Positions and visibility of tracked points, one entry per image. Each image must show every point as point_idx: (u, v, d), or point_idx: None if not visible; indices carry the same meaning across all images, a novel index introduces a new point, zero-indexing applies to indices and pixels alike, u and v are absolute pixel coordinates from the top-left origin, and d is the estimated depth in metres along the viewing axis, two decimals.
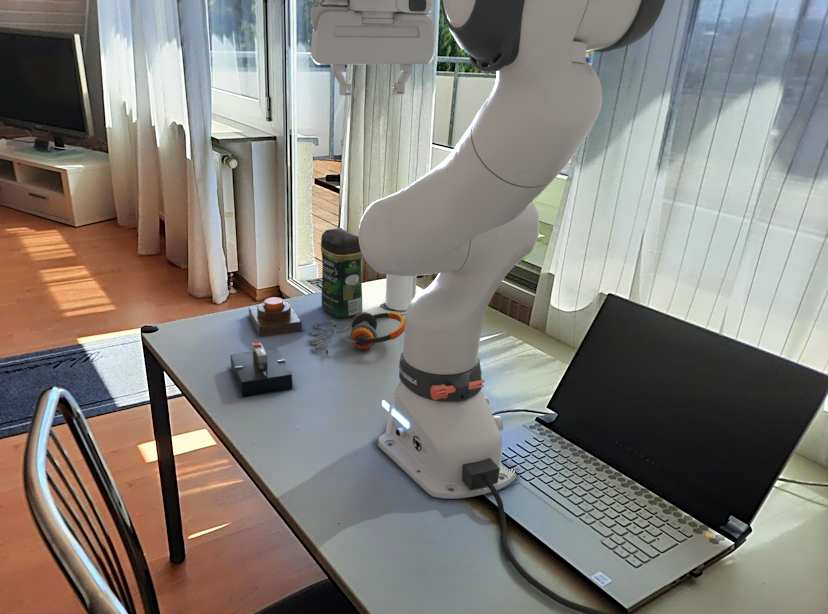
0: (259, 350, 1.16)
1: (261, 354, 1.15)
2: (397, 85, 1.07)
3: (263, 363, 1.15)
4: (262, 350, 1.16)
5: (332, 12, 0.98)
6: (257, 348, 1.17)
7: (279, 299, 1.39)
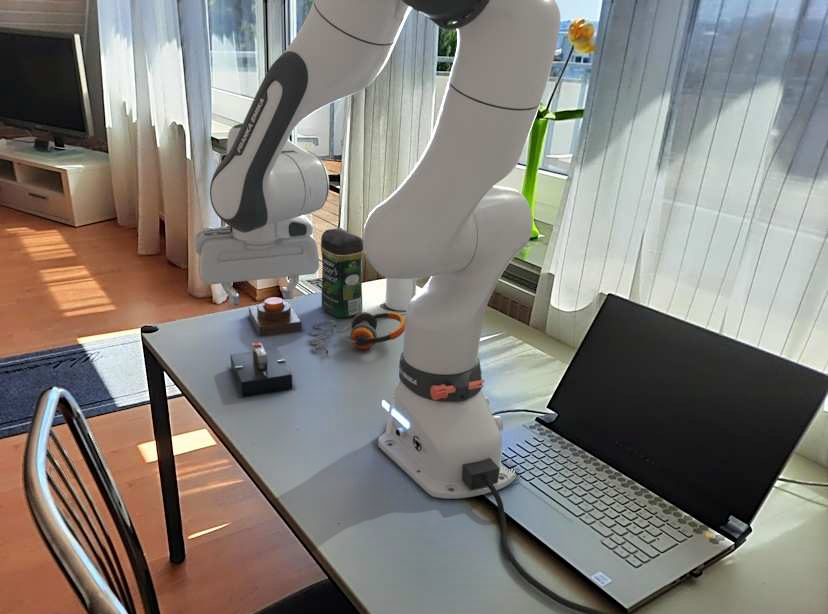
0: (259, 350, 1.16)
1: (261, 354, 1.15)
2: (285, 292, 1.13)
3: (263, 363, 1.15)
4: (262, 350, 1.16)
5: (214, 242, 1.04)
6: (257, 348, 1.17)
7: (279, 299, 1.39)
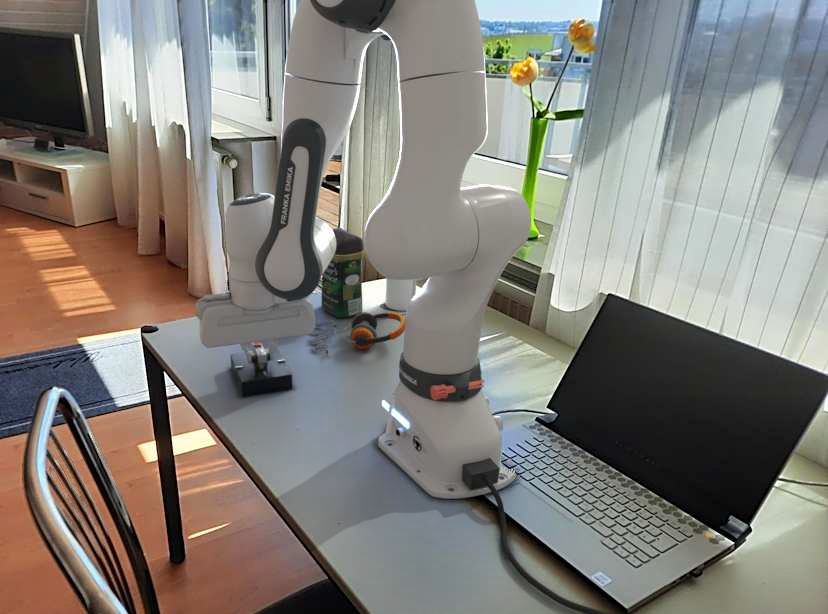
0: (259, 350, 1.16)
1: (261, 354, 1.15)
2: None
3: (263, 363, 1.15)
4: (262, 350, 1.16)
5: (214, 308, 1.09)
6: (257, 348, 1.17)
7: None
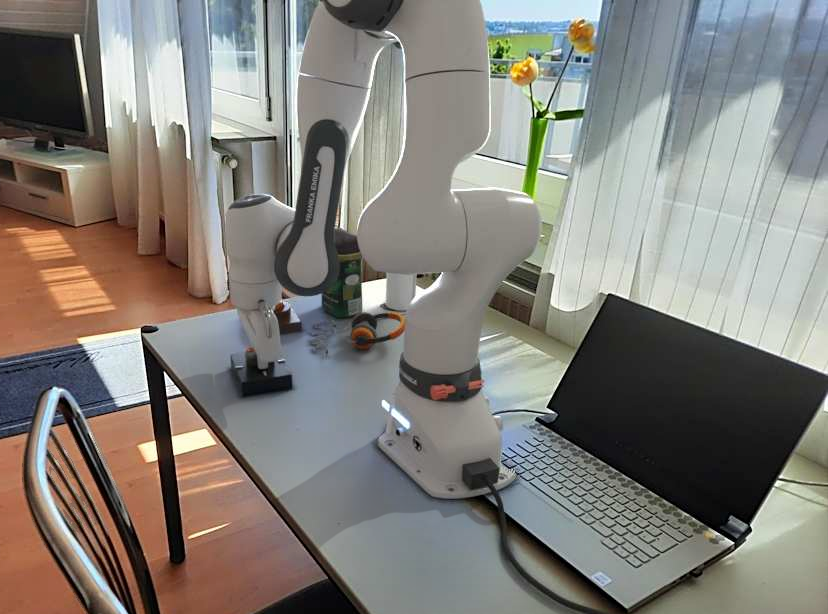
0: None
1: None
2: None
3: None
4: None
5: (275, 316, 1.07)
6: None
7: None
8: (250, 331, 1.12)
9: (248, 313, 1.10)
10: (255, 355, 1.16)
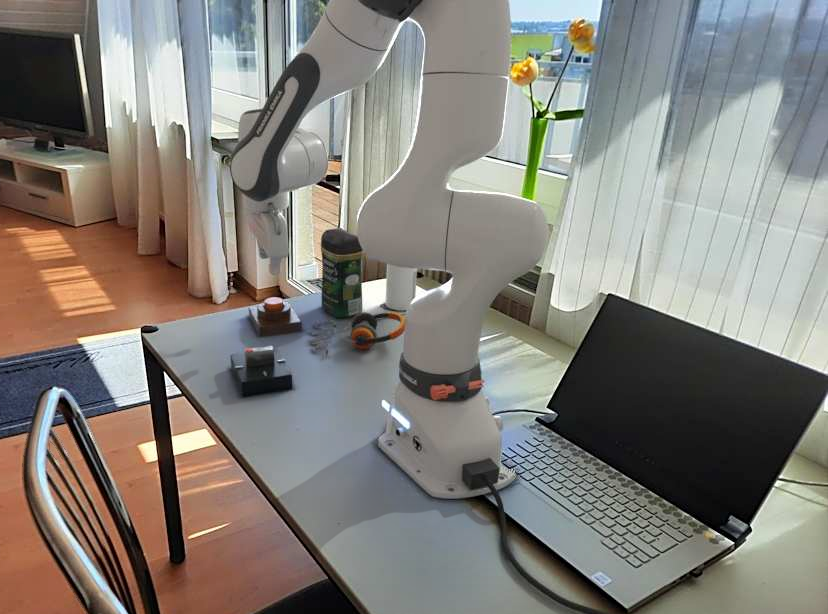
0: (262, 348, 1.17)
1: (271, 347, 1.17)
2: None
3: None
4: (262, 347, 1.17)
5: (283, 217, 1.19)
6: (257, 350, 1.16)
7: (279, 299, 1.39)
8: (260, 234, 1.25)
9: (259, 216, 1.23)
10: (255, 355, 1.16)
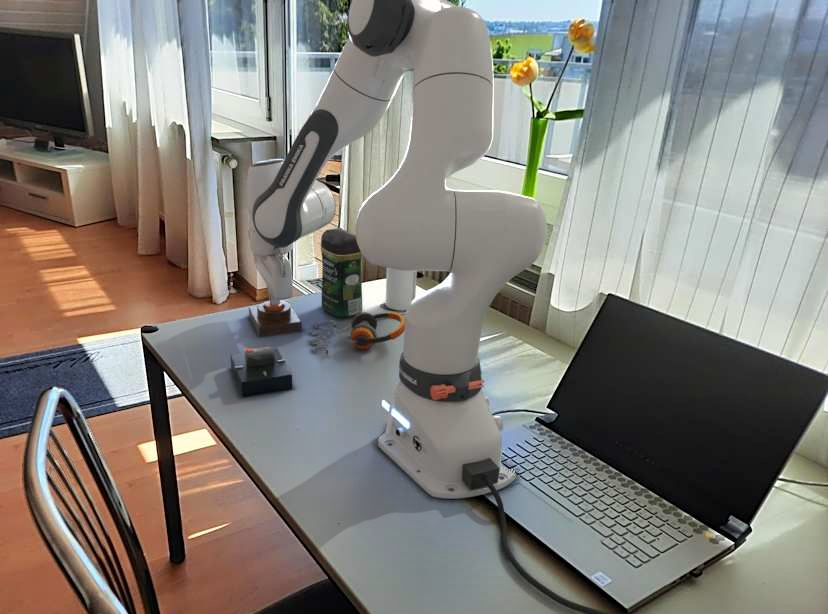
0: (262, 348, 1.17)
1: (271, 347, 1.17)
2: None
3: None
4: (262, 347, 1.17)
5: (288, 260, 1.28)
6: (257, 350, 1.16)
7: None
8: (266, 274, 1.33)
9: (265, 258, 1.32)
10: (255, 355, 1.16)
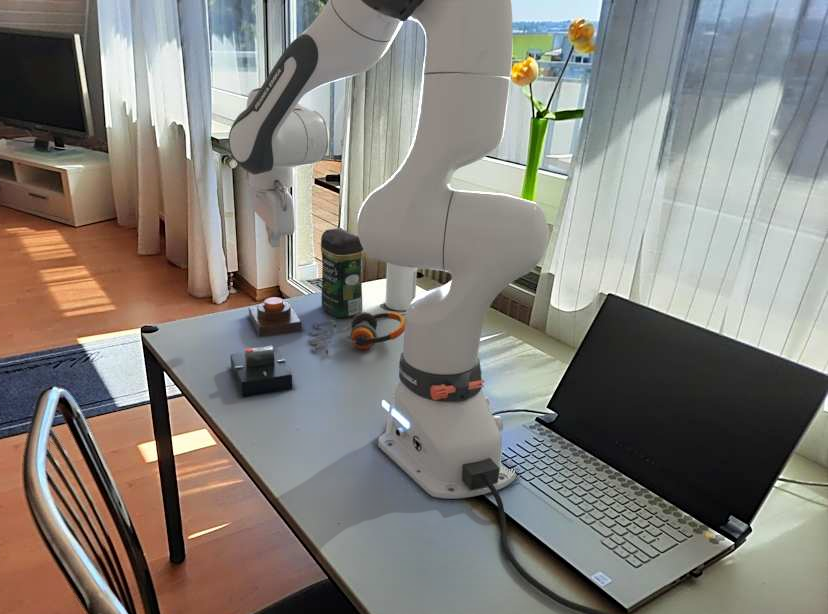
0: (262, 348, 1.17)
1: (271, 347, 1.17)
2: None
3: None
4: (262, 347, 1.17)
5: (289, 193, 1.21)
6: (257, 350, 1.16)
7: (279, 299, 1.39)
8: (266, 212, 1.26)
9: (265, 194, 1.25)
10: (255, 355, 1.16)
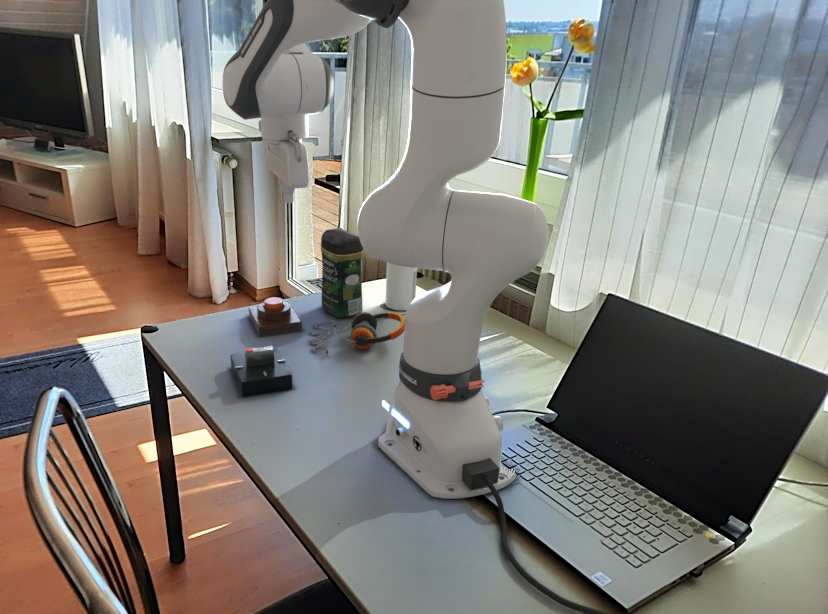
0: (262, 348, 1.17)
1: (271, 347, 1.17)
2: None
3: None
4: (262, 347, 1.17)
5: None
6: (257, 350, 1.16)
7: (279, 299, 1.39)
8: (279, 165, 1.21)
9: (278, 146, 1.20)
10: (255, 355, 1.16)
